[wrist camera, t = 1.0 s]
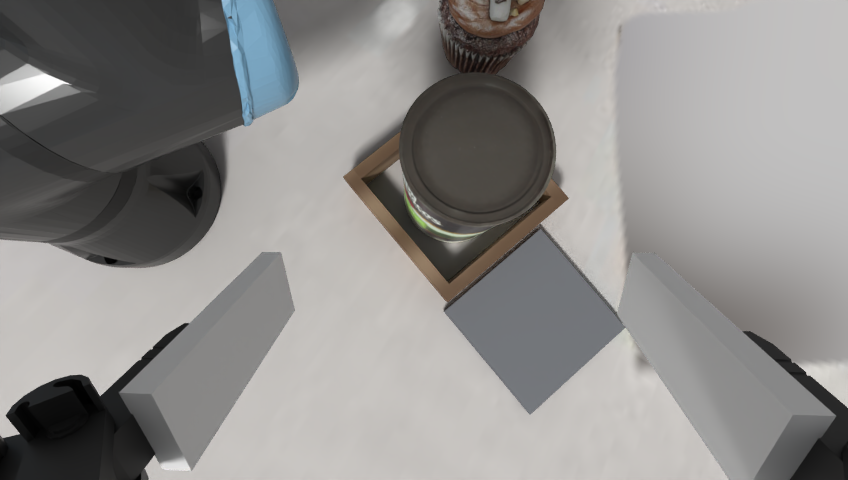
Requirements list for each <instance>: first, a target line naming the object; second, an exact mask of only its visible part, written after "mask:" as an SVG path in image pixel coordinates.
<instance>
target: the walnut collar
mask: <svg viewBox="0 0 848 480" xmlns="http://www.w3.org/2000/svg"><path fill="white" fill-rule="evenodd" d="M400 132H401V131H400ZM400 132H399V133H398V134H396V135H395V136H394V137H393V138H391V139H390V140H389V141H388V142H386V143H385V144H384V145H383V146H381V147H380V148H379V149H378V150H376V151H375V152H374V153H373V154H371V155H370V156H369V157H367V158H366V159H365V160H364V161H362V162H361V163H360V164H359V165H357V166H356V167H355V168H354V169H352V170H351V171H350V172H349V173H347V174H346V175H345V176H343V178H344V179H345V180H346V182H347V183H348V184H349V186H350V187H351V188H352V189H353V190H354V192H355V193H356V194H357V195H358V196H359V198H360V199H361V200H362V201H363V202H364V204H365V205H366V206H367V207H368V208H369V210H370V211H371V212H372V213H373V214H374V216H375V217H376V218H377V219H378V220H379V222H380V223H381V224H382V225H383V226H384V228H385V229H386V230H387V231H388V232H389V234H390V235H391V236H392V237H393V238H394V240H395V241H396V242H397V243H398V244H399V246H400V247H401V248H402V249H403V250H404V252H405V253H406V254H407V255H408V256H409V258H410V259H411V260H412V261H413V262H414V264H415V265H416V266H417V267H418V268H419V270H420V271H421V272H422V273H423V274H424V276H425V277H426V278H427V279H428V280H429V282H430V283H431V284H432V285H433V286H434V288H435V289H436V290H437V291H438V292H439V294H440V295H441V296H442V297H443V298H444V300H445V301H447V302H449V301H450V300H451V299H452V298H453V297H454V296H456V295H457V294H458V293H459V292H460V291H461V290H463V289H464V288H465V287H466V286H467V285H468V284H470V283H471V282H472V281H473V280H474V279H475V278H477V277H478V276H479V275H480V274H481V273H482V272H484V271H485V270H486V269H487V268H488V267H489V266H491V265H492V264H493V263H494V262H495V261H496V260H498V259H499V258H500V257H501V256H502V255H503V254H505V253H506V252H507V251H508V250H509V249H510V248H512V247H513V246H514V245H515V244H516V243H517V242H519V241H520V240H521V239H522V238H523V237H524V236H526V235H527V234H528V233H529V232H530V231H531V230H533V229H534V228H535V227H536V226H537V225H538V224H540V223H541V222H542V221H543V220H544V219H545V218H547V217H548V216H549V215H550V214H551V213H552V212H554V211H555V210H556V209H557V208H558V207H559V206H561V205H562V204H563V203H564V202H565V201H566V200H568V199H569V198H568V197H567V196H566V194H565V193H564V192H563V191H562V190H561V189H560V188H559V186H558V185H557V184H556V183H555V182H554V181H553V180H552V178H551V180H550V182H549V184H548V186H547V188H546V190H545V191H544V193H543V194H542V196H541V197H540V199H539V200H538V201H539V202H540V203H539V204H538V205H537V206H536V207H535V208H534V209H532V210H531V211H530V212H529V213H528V214H526V215H525V216H524V217H523V218H522V219H521V220H519V221H518V222H517V223H516V224H515V225H514V226H512V227H511V228H510V229H509V230H508V231H507V232H505V233H504V234H503V235H502V236H501V237H499V238H498V239H497V240H496V241H495V242H494V243H492V244H491V245H490V246H489V247H488V248H487V249H485V250H484V251H483V252H482V253H481V254H479V255H478V256H477V257H476V258H475V259H474V260H472V261H471V262H470V263H469V264H468V265H467V266H465V267H464V268H463V269H462V270H461V271H459V272H458V273H457V274H456V275H455V276H454V277H452V278H451V279H450V280H449V281H448V282H447V281H446V280H445V279H444V277H443V276H442V275H441V274H440V273H439V271H438V270H437V269H436V268H435V267H434V265H433V264H432V263H431V262H430V261H429V259H428V258H427V257H426V256H425V255H424V253H423V252H422V251H421V250H420V249H419V247H418V246H417V245H416V244H415V243H414V241H413V240H412V239H411V238H410V237H409V235H408V234H407V233H406V232H405V231H404V230H403V228H402V227H401V226H400V225H399V224H398V222H397V221H396V220H395V219H394V218H393V216H392V215H391V214H390V213H389V212H388V210H387V209H386V208H385V207H384V206H383V204H382V203H381V202H380V201H379V200H378V198H377V197H376V196H375V195H374V194H373V192H372V191H371V190H370V189H369V188H368V186H367V184H368V183H370V182H371V181H372V180H373V179H375V178H376V177H377V176H378V175H380V174H381V173H382V172H383V171H385V170H386V169H387V168H388V167H390V166H391V165H392V164H393V163H395V162H396V161H397V160H398V159H400V157H399V138H400Z"/></svg>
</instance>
